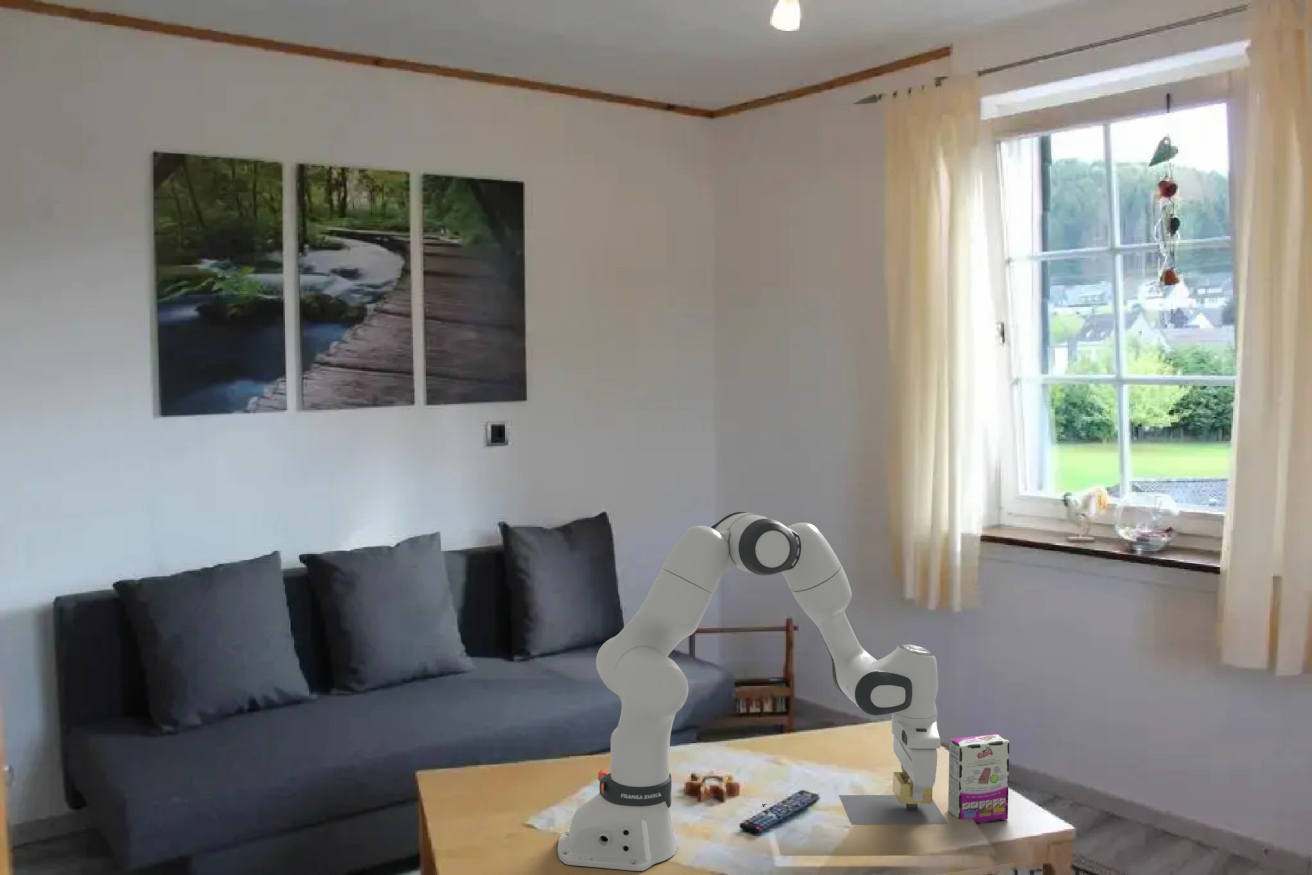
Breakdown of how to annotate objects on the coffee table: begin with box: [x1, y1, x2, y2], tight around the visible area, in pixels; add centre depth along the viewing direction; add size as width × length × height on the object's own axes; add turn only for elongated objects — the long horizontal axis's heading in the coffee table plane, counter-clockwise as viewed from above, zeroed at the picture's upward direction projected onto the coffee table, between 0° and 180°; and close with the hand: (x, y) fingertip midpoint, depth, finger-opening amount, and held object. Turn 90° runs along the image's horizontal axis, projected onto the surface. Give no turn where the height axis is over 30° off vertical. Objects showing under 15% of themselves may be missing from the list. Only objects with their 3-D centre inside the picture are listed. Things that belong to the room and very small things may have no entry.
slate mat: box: [838, 794, 949, 825], centre depth 232 cm, size 19×14×2 cm
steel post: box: [906, 778, 918, 812], centre depth 232 cm, size 2×2×6 cm
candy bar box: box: [947, 733, 1010, 825], centre depth 231 cm, size 11×5×16 cm, turn 105°
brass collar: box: [892, 771, 934, 804], centre depth 232 cm, size 6×6×4 cm
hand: (911, 792), depth 232 cm, fingers closed on brass collar, 6 cm apart
